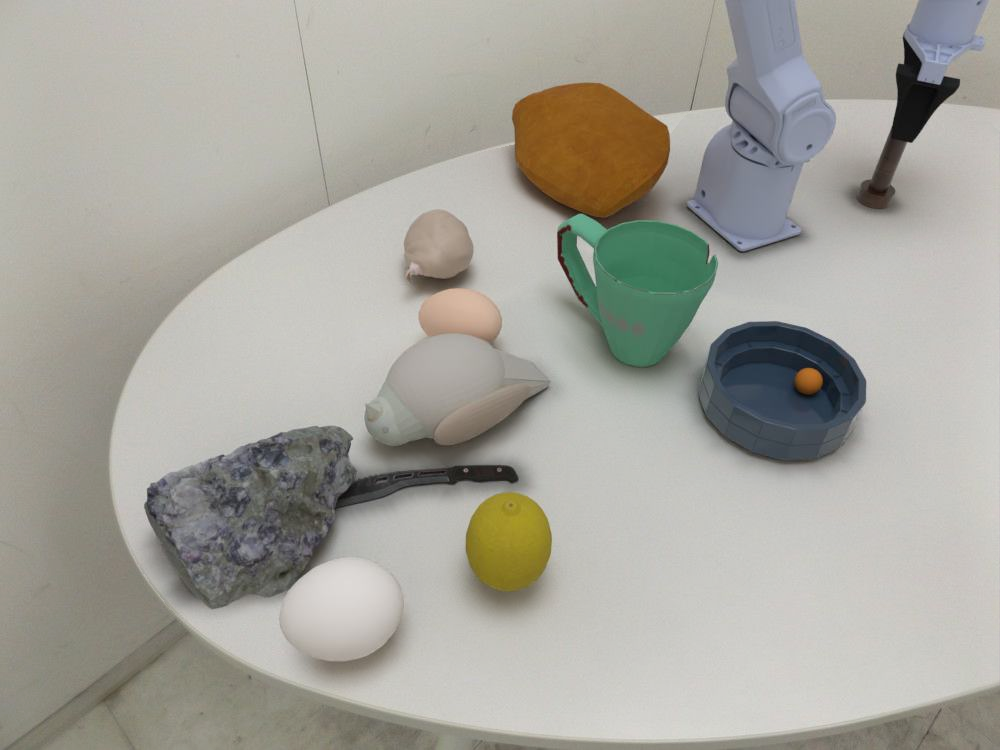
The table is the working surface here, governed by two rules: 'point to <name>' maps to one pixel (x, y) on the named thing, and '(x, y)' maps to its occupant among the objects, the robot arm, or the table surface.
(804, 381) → the ball
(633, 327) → the mug
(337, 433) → the mineral rock
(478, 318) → the egg
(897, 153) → the coffee tamper
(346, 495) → the knife
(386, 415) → the decorative bird
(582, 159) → the bread
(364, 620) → the egg
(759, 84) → the robot arm
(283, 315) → the table surface
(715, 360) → the bowl
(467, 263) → the garlic bulb
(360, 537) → the table surface
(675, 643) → the table surface
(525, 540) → the lemon
